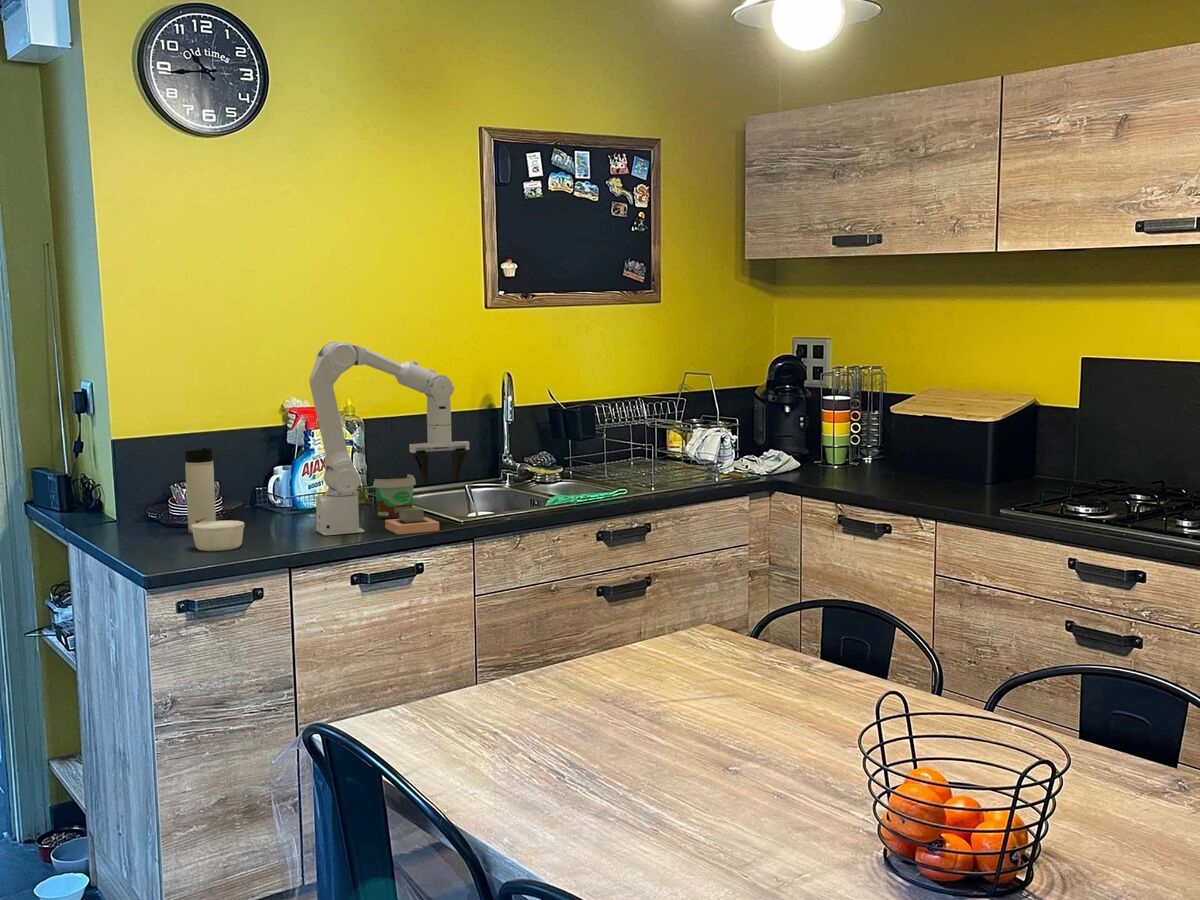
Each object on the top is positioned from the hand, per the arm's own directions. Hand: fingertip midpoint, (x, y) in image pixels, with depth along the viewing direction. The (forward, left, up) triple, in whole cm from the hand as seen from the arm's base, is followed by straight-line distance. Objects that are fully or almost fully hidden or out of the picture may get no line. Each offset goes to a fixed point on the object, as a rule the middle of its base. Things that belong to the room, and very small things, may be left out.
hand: (440, 480), depth 286 cm
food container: (-5, +16, -11) cm, 20 cm away
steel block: (-9, -5, -10) cm, 15 cm away
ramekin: (-53, -6, -11) cm, 54 cm away
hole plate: (-9, -5, -10) cm, 15 cm away
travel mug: (-53, +17, -11) cm, 57 cm away
